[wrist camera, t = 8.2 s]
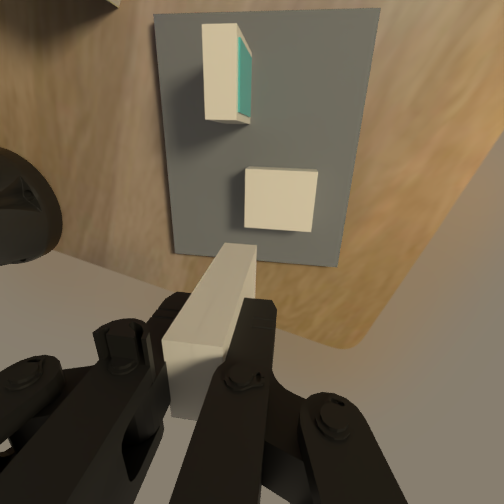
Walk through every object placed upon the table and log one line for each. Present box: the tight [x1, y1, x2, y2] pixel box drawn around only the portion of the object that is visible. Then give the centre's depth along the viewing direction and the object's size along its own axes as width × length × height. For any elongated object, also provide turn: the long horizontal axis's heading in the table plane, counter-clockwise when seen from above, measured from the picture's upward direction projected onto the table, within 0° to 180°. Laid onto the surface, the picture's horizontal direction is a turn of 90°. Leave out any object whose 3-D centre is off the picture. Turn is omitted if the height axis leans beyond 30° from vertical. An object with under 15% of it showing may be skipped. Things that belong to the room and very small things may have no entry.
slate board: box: [153, 8, 381, 267], centre depth 29 cm, size 24×20×1 cm
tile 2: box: [244, 166, 318, 232], centre depth 28 cm, size 6×3×7 cm
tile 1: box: [202, 23, 252, 124], centre depth 23 cm, size 6×3×7 cm, turn 178°
